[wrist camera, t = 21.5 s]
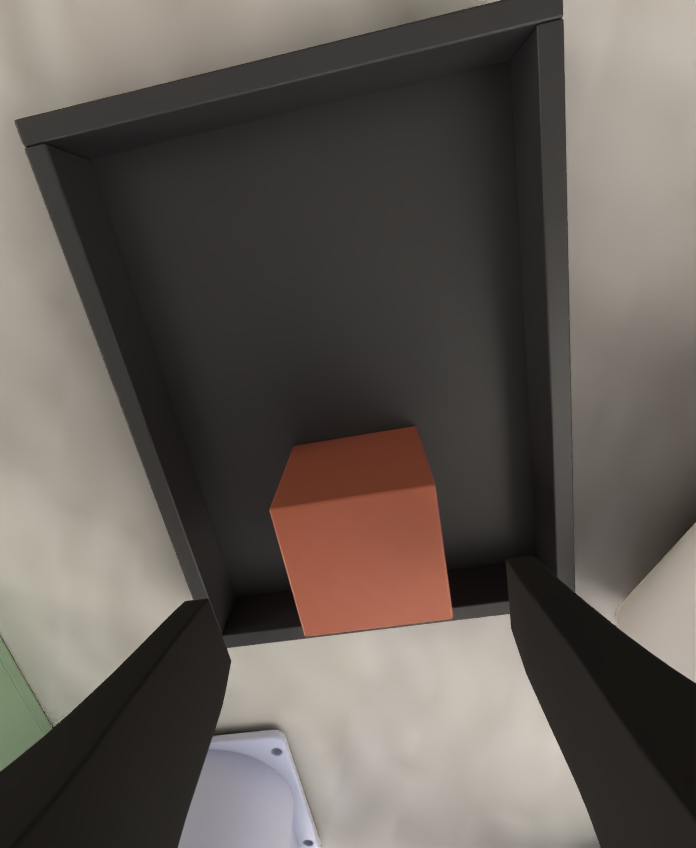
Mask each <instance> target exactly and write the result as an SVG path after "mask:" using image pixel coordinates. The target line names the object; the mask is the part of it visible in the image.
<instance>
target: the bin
mask: <svg viewBox="0 0 696 848" xmlns="http://www.w3.org/2000/svg"><path fill="white" fill-rule="evenodd" d="M52 729H53V728H52V726H51V724H50V723H49V721H48V719H47V717H46V716H45V714H44V712H43V710H42V709H41V707H40V705H39V703H38V702H37V700H36V698H35V696H34V695H33V693H32V691H31V689H30V688H29V686H28V684H27V682H26V681H25V679H24V677H23V675H22V674H21V672H20V670H19V668H18V667H17V665H16V663H15V661H14V660H13V658H12V656H11V654H10V653H9V651H8V649H7V647H6V646H5V644H4V642H3V640H2V639H1V637H0V771H1V770H3V769H4V768H5V767H7V766H8V765H9V764H11V763H12V762H13V761H14V760H16V759H17V758H18V757H19V756H20V755H22V754H23V753H24V752H25V751H26V750H28V749H29V748H30V747H31V746H33V745H34V744H35V743H36V742H37V741H39V740H40V739H41V738H42V737H43V736H45V735H46V734H47V733H48V732H49V731H50V730H52Z"/></svg>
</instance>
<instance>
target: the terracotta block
mask: <svg viewBox="0 0 696 848" xmlns="http://www.w3.org/2000/svg"><path fill="white" fill-rule="evenodd" d="M269 511H270V514H271V518H272V521H273V525H274V528H275V532H276V536H277V539H278V543H279V546H280V550H281V553H282V557H283V561H284V564H285V568H286V571H287V575H288V578H289V582H290V586H291V589H292V593H293V596H294V600H295V603H296V607H297V611H298V614H299V618H300V621H301V625H302V628H303V632H304V635H305V636H306V637H308V636H316V635H324V634H333V633H341V632H349V631H357V630H366V629H374V628H382V627H390V626H399V625H407V624H415V623H423V622H432V621H440V620H448V619H452V618H453V611H452V604H451V596H450V589H449V582H448V574H447V567H446V559H445V552H444V545H443V537H442V530H441V522H440V515H439V508H438V500H437V493H436V486H435V483H434V479H433V476H432V473H431V470H430V467H429V464H428V461H427V458H426V455H425V452H424V448H423V445H422V442H421V439H420V436H419V433H418V430H417V427H416V426H412V427H406V428H400V429H394V430H388V431H382V432H375V433H369V434H363V435H357V436H351V437H345V438H338V439H332V440H326V441H320V442H314V443H308V444H302V445H295V446H293V449H292V451H291V454H290V457H289V459H288V462H287V465H286V467H285V470H284V473H283V475H282V478H281V480H280V483H279V486H278V488H277V491H276V494H275V496H274V499H273V502H272V504H271V507H270V510H269Z"/></svg>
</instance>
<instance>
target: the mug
mask: <svg viewBox="0 0 696 848" xmlns="http://www.w3.org/2000/svg"><path fill="white" fill-rule="evenodd" d="M615 622H616V627H617V628H619V629H620V630H621V631H623V632H624V633H625V634H626V635H628V636H629V637H630V638H632V639H633V640H634V641H636V642H637V643H639V644H640V645H641V646H643V647H644V648H645V649H647V650H648V651H649V652H651V653H652V654H653V655H655V656H656V657H658V658H659V659H661V660H662V661H663V662H665V663H666V664H668V665H669V666H671V667H672V668H673V669H675V670H676V671H678V672H679V673H681V674H682V675H684V676H686V677H687V678H689V679H690V680H692V681H693V682H695V683H696V522H695V523H694V525H693V526H692V527H691V528H690V529H689V530H688V531H687V532H686V533H685V534H684V535H683V537H682V538H681V539H680V540H679V541H678V542H677V543H676V544H675V545H674V546H673V547H672V548H671V550H670V551H669V552H668V553H667V554H666V555H665V556H664V557H663V558H662V559H661V560H660V562H659V563H658V564H657V565H656V566H655V567H654V568H653V569H652V570H651V571H650V572H649V574H648V575H647V576H646V577H645V578H644V579H643V580H642V581H641V582H640V583H639V584H638V586H637V587H636V588H635V589H634V590H633V591H632V592H631V593H630V594H629V595H628V596H627V598H626V599H625V600H624V601H623V602H622V603H621V604H620V605H619V607H618V608H617V610H616V614H615Z"/></svg>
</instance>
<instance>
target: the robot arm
mask: <svg viewBox="0 0 696 848" xmlns="http://www.w3.org/2000/svg"><path fill="white" fill-rule="evenodd" d="M506 571H507V583H508V595H509V607H510V619H511V629H512V632H513V635H514V638H515V641H516V644H517V647H518V650H519V653H520V656H521V659H522V662H523V665H524V668H525V671H526V674H527V676H528V678H529V680H530V683H531V685H532V687H533V689H534V692H535V694H536V696H537V698H538V700H539V703H540V705H541V707H542V709H543V712H544V714H545V716H546V718H547V720H548V723H549V725H550V727H551V729H552V731H553V733H554V736H555V738H556V740H557V742H558V744H559V747H560V749H561V751H562V753H563V755H564V758H565V760H566V762H567V764H568V766H569V769H570V771H571V773H572V775H573V777H574V780H575V782H576V784H577V787H578V789H579V791H580V794H581V796H582V799H583V801H584V803H585V806H586V808H587V811H588V813H589V816H590V819H591V822H592V824H593V827H594V830H595V833H596V835H597V838H598V841H599V844H600V846H601V848H696V683H695V682H693V681H692V680H690V679H689V678H687V677H686V676H684V675H682V674H681V673H679V672H678V671H676V670H675V669H673V668H672V667H671V666H669V665H668V664H666V663H665V662H663V661H662V660H661V659H659V658H658V657H656V656H655V655H653V654H652V653H651V652H649V651H648V650H647V649H645V648H644V647H643V646H641V645H640V644H639V643H637V642H636V641H634V640H633V639H632V638H630V637H629V636H628V635H626V634H625V633H624V632H623V631H621V630H620V629H619V628H617V627H616V626H615V625H614V624H612V623H611V622H610V621H609V620H607V619H606V618H605V617H604V616H602V615H601V614H600V613H599V612H598V611H596V610H595V609H594V608H593V607H591V606H590V605H589V604H588V603H586V602H585V601H584V600H583V599H582V598H581V597H579V596H578V595H577V594H576V593H575V592H574V591H572V590H571V589H570V588H569V587H568V586H567V585H566V584H564V583H563V582H562V581H561V580H560V579H559V578H558V577H557V576H555V575H554V574H553V573H552V572H551V571H550V570H549V569H548V568H547V567H546V566H544V565H543V564H542V563H541V562H540V561H539V560H538V559H537V558H535V557H534V556H525V557H518V558H510V559H506ZM230 664H231V659H230V656H229V654H228V651H227V648H226V645H225V643H224V640H223V637H222V634H221V632H220V629H219V626H218V623H217V621H216V618H215V615H214V612H213V610H212V607H211V604H210V601H209V599H208V598H207V599H199V600H192V601H185V602H184V603H183V604H182V605H181V606H179V607H178V608H177V609H176V610H175V611H174V612H173V613H172V614H171V615H170V616H169V617H168V618H167V619H166V620H165V621H164V622H163V623H162V624H161V625H160V626H159V627H158V628H157V629H156V630H155V631H154V632H153V633H152V634H151V635H150V636H149V637H148V638H147V639H146V640H145V641H144V642H143V643H142V644H141V645H140V646H139V647H138V648H137V649H136V650H135V651H134V652H133V653H132V654H131V655H130V656H129V657H128V658H127V659H126V660H125V661H124V662H123V663H122V664H121V665H120V666H119V667H118V668H117V669H116V670H115V671H114V672H113V673H112V674H111V675H110V676H109V677H108V678H107V679H106V680H105V681H104V682H103V683H102V684H101V685H100V686H99V687H97V688H96V689H95V690H94V691H93V692H92V693H91V694H90V695H89V696H88V697H87V698H86V699H85V700H84V701H83V702H82V703H80V704H79V705H78V706H77V707H76V708H75V709H74V710H73V711H72V712H71V713H70V714H69V715H68V716H66V717H65V718H64V719H63V720H62V721H61V722H60V723H58V724H57V725H56V726H55V727H54V728H53V729H52V730H50V731H49V732H48V733H47V734H46V735H45V736H43V737H42V738H41V739H40V740H39V741H37V742H36V743H35V744H34V745H33V746H31V747H30V748H29V749H28V750H26V751H25V752H24V753H23V754H22V755H20V756H19V757H18V758H17V759H16V760H14V761H13V762H12V763H11V764H9V765H8V766H7V767H5V768H4V769H3V770H1V771H0V848H322V845H321V842H320V839H319V836H318V833H317V830H316V827H315V824H314V821H313V818H312V815H311V812H310V809H309V806H308V803H307V800H306V797H305V794H304V791H303V788H302V785H301V782H300V778H299V775H298V772H297V769H296V766H295V763H294V760H293V757H292V754H291V751H290V748H289V745H288V742H287V739H286V736H285V735H284V733H283V732H281V731H279V730H265V731H255V732H245V733H235V734H225V735H216V736H213V734H214V731H215V728H216V724H217V721H218V718H219V715H220V712H221V708H222V705H223V700H224V696H225V691H226V686H227V681H228V675H229V670H230Z"/></svg>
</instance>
